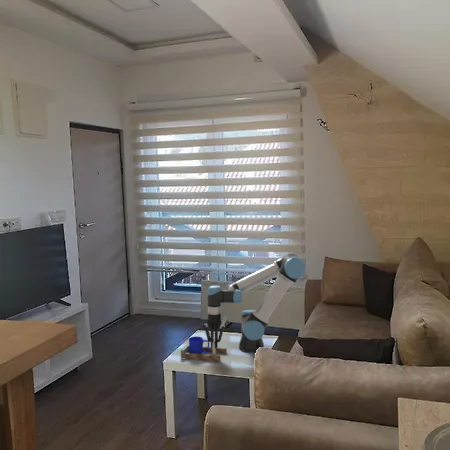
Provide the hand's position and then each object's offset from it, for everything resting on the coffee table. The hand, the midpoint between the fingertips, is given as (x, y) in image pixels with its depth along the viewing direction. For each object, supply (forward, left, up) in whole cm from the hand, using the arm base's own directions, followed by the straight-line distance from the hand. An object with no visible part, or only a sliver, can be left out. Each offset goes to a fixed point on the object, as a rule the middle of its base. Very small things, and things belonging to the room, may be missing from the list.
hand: (214, 353), depth 271 cm
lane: (+6, 0, -2) cm, 6 cm away
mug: (+9, 0, -2) cm, 9 cm away
